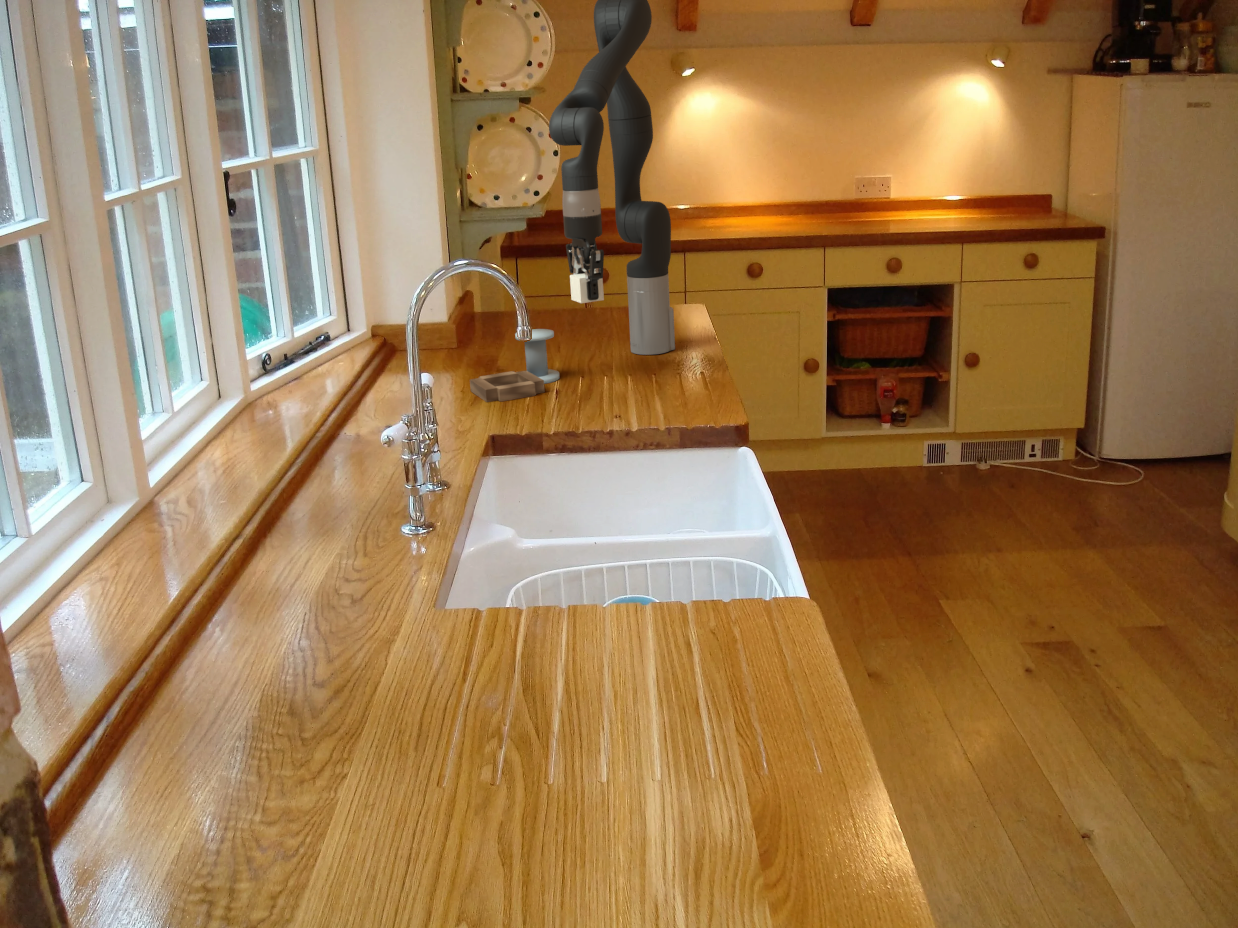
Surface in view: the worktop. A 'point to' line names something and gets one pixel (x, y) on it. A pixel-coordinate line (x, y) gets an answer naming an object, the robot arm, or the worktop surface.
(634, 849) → the worktop surface
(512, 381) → the tray
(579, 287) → the block
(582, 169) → the robot arm
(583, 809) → the worktop surface
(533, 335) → the bobbin
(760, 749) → the worktop surface
